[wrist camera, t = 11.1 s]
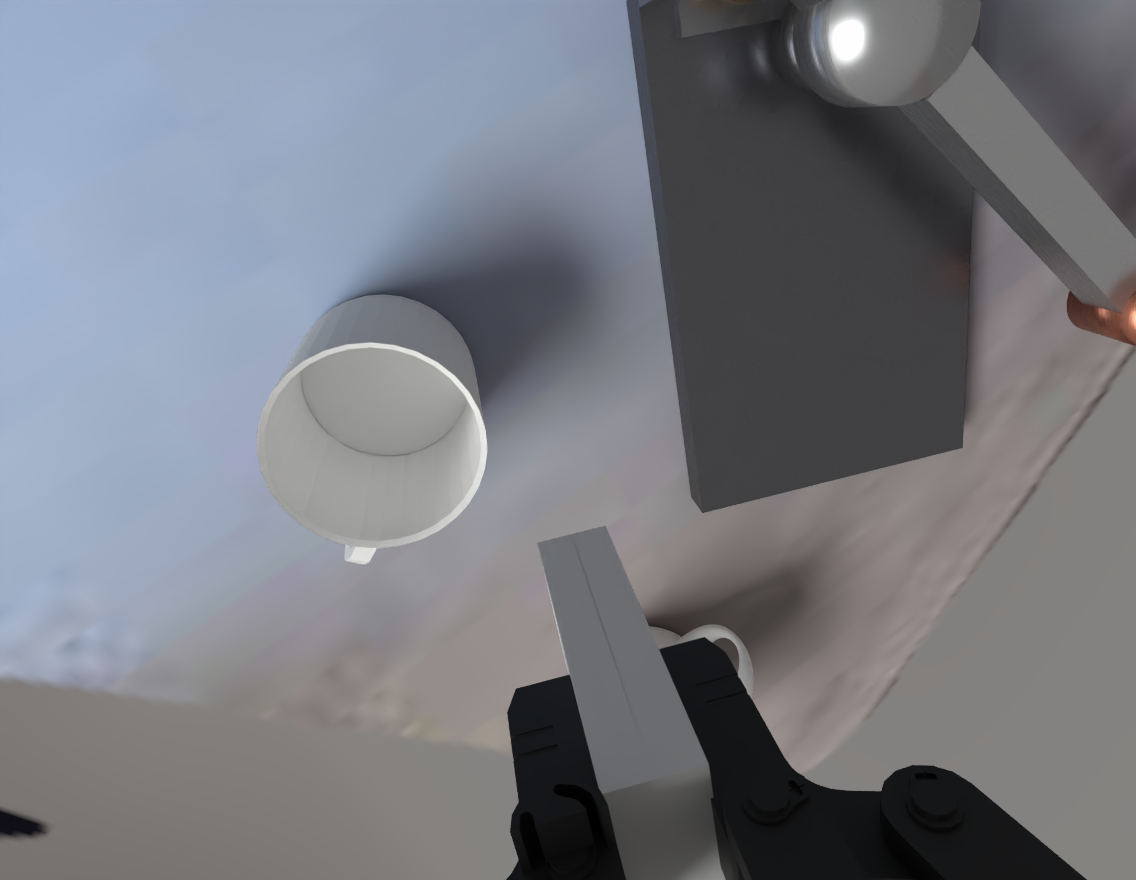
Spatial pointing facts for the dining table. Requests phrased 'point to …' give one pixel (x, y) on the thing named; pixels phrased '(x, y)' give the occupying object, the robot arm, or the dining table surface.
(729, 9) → the press base
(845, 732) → the dining table surface
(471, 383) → the mug
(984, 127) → the lever
